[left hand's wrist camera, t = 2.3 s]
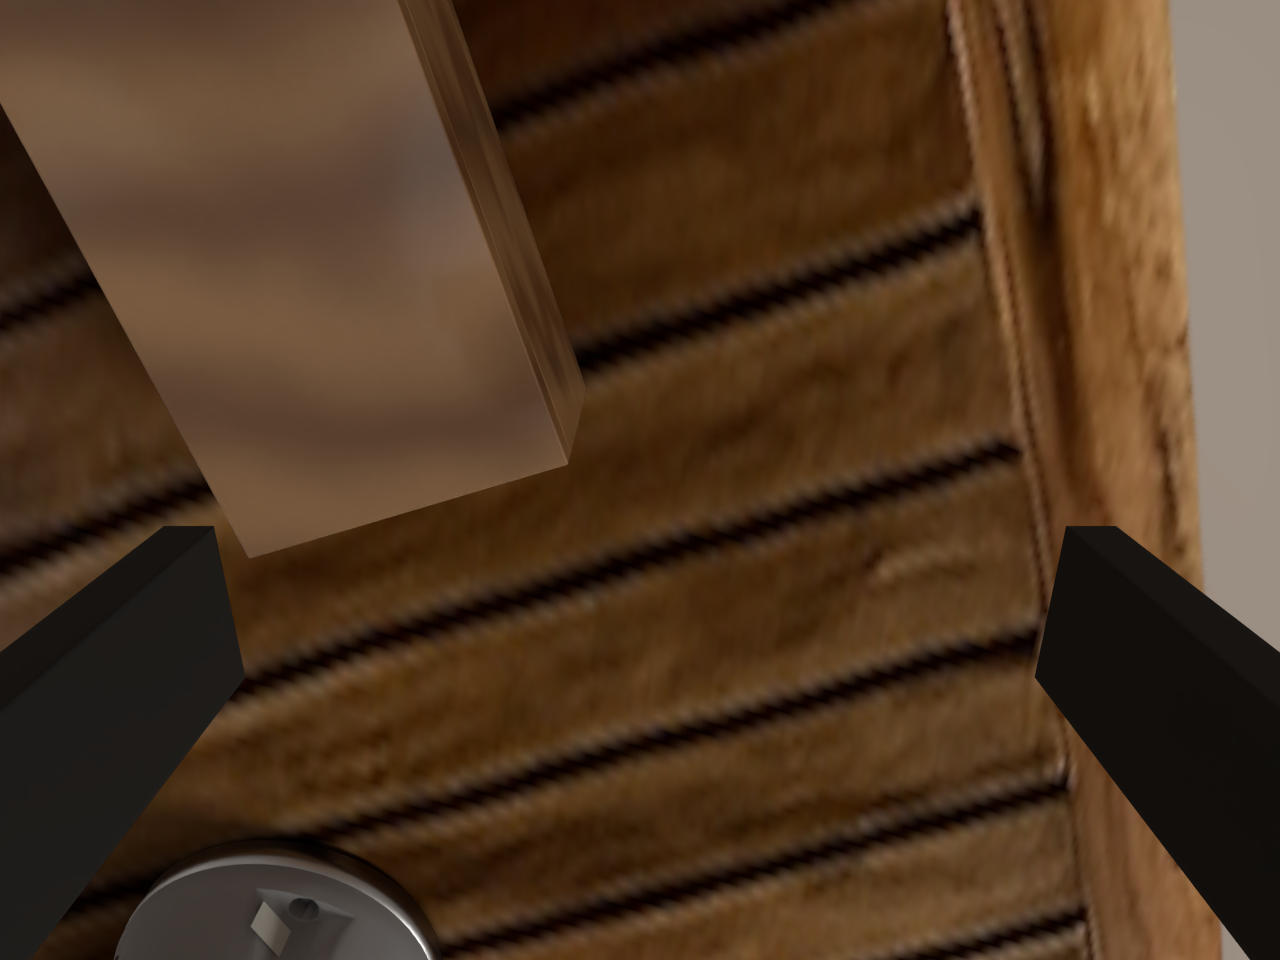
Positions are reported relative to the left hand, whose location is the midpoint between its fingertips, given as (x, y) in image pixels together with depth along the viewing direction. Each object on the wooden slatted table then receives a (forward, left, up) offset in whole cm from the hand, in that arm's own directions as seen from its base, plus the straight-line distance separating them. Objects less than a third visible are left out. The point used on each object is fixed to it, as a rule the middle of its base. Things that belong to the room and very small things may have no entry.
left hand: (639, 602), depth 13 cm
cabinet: (-7, +9, -18) cm, 22 cm away
